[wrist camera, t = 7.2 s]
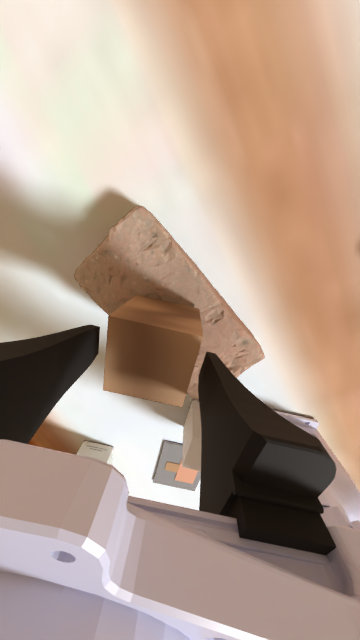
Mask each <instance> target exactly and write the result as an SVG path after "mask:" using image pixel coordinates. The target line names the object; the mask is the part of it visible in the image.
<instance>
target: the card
mask: <svg viewBox="0 0 360 640" xmlns="http://www.w3.org/2000/svg"><path fill="white" fill-rule="evenodd" d="M182 452H183V444H179V443H174V442H169V441H165V442H164V445H163V449H162V452H161V456H160V459H159V463H158V466H157V470H156V473H155V477H154V480H153V482H154V483H159V484H164V485H168V486H173V487H178V488H182V489H187V490H192V491H195V489H196V487H197V484H198V482H199V480H200V478H201V471H198V470H193V469H188V468H184V467H182Z"/></svg>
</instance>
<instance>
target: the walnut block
mask: <svg viewBox="0 0 360 640" xmlns="http://www.w3.org/2000/svg"><path fill="white" fill-rule="evenodd" d="M202 340H203V331H202V324H201V317H200V310H199V309H198V308H194V307H190V306H185V305H181V304H176V303H172V302H168V301H163V300H159V299H155V298H150V297H146V296H142V295H136V296H134V297H133V298H132V299H130V300H129V301H127V302H126V303H125V304H123V305H122V306H121V307H119V308H118V309H117V310H115V311H114V312H113V313H111V314H110V315H109V317H108V330H107V344H106V358H105V371H104V385H103V390H105V391H109V392H114V393H119V394H123V395H128V396H132V397H137V398H142V399H146V400H151V401H156V402H160V403H165V404H169V405H174V406H179V407H183V403H184V400H185V397H186V393H187V390H188V387H189V383H190V380H191V377H192V373H193V370H194V367H195V363H196V360H197V357H198V353H199V350H200V347H201V343H202Z"/></svg>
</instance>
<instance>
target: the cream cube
mask: <svg viewBox="0 0 360 640" xmlns="http://www.w3.org/2000/svg"><path fill="white" fill-rule="evenodd" d="M182 467H184V468H188V469H193V470H198V471H201V417H200V406H199V401H195V400H192V403H191V406H190V409H189V412H188V415H187V418H186V421H185V424H184V430H183V452H182Z"/></svg>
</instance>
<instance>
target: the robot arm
mask: <svg viewBox="0 0 360 640" xmlns="http://www.w3.org/2000/svg"><path fill="white" fill-rule="evenodd" d="M99 331H100V327H98V326H94V325H86V326H82V327H78V328H74V329H70V330H66V331H62V332H59V333H54V334H50V335H46V336H41V337H37V338H31V339H26V340H19V341H13V342H4V343H0V640H360V492H359V490H358V488H357V486H356V484H355V483H354V481H353V480H352V478H351V477H350V476H349V474H348V473H347V471H346V470H345V469H344V467H343V466H342V464H341V463H340V462H339V460H338V459H337V457H336V456H335V455H334V453H333V452H332V450H331V449H330V447H329V446H328V445H327V443H326V442H325V440H324V439H323V438H322V436H321V435H320V433H319V432H318V431H317V427H318V426H319V423H318V421H317V420H314V419H310V418H306V417H301V416H297V415H292V414H288V413H283V412H279V411H274V410H272V409H271V408H269V407H268V406H267V405H265V404H264V403H263V402H262V401H260V400H259V399H258V398H257V397H255V396H254V395H253V394H252V393H251V392H250V391H249V390H248V389H247V388H245V387H244V386H243V385H242V384H241V383H240V381H239V380H238V379H237V378H236V377H235V376H234V375H233V374H232V373H231V372H230V370H229V369H228V368H227V367H226V366H225V364H224V363H223V362H222V361H221V359H220V358H219V357H218V356H217V355H216V354H215V353H211V352H207V351H206V355H205V358H204V361H203V364H202V367H201V370H200V373H199V376H198V396H199V406H200V417H201V484H200V507H199V511H198V510H194V509H189V508H184V507H179V506H175V505H170V504H165V503H160V502H155V501H151V500H146V499H141V498H136V497H132V496H128V493H129V491H128V487H127V483H126V480H125V478H124V476H123V475H122V474H121V473H120V472H119V471H118V470H117V469H116V468H114V467H113V466H112V465H110V464H107V463H105V462H102V461H100V460H97V459H95V458H90V457H85V456H80V455H76V454H71V453H66V452H62V451H57V450H52V449H48V448H43V447H38V446H34V445H29V444H28V443H29V441H30V440H31V438H32V437H33V435H34V434H35V432H36V431H37V430H38V428H39V427H40V425H41V424H42V423H43V421H44V420H45V418H46V417H47V416H48V414H49V413H50V411H51V410H52V409H53V407H54V406H55V405H56V403H57V402H58V401H59V399H60V398H61V397H62V396H63V395H64V393H65V392H66V391H67V390H68V389H69V388H70V387H71V386H72V385H73V384H74V382H75V381H76V380H77V379H78V378H79V377H80V376H81V375H82V374H83V373H84V372H85V370H86V369H87V368H88V367H89V366H90V365H91V363H92V362H93V360H94V359H95V357H96V356H97V354H98V348H99Z"/></svg>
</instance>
